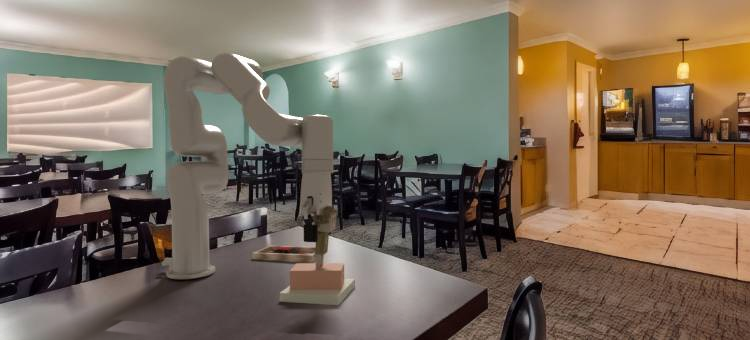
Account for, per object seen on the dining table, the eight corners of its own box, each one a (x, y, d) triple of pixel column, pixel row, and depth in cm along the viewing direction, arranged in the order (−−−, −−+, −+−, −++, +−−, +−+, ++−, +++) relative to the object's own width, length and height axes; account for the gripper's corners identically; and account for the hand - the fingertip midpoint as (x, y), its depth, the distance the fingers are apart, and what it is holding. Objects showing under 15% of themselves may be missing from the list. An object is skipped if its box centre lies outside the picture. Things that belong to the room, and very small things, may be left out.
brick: (290, 289, 96) (289, 270, 96) (296, 281, 103) (296, 263, 103) (341, 289, 96) (341, 270, 96) (344, 281, 103) (344, 263, 103)
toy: (328, 271, 96) (333, 207, 96) (301, 267, 97) (306, 204, 97) (336, 263, 104) (341, 204, 103) (311, 260, 105) (315, 201, 104)
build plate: (279, 301, 94) (279, 292, 94) (303, 283, 108) (303, 276, 108) (338, 305, 91) (338, 296, 91) (355, 286, 105) (354, 278, 105)
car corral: (252, 264, 129) (252, 253, 129) (270, 255, 141) (270, 245, 141) (312, 266, 125) (312, 255, 125) (325, 257, 137) (325, 247, 137)
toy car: (303, 267, 126) (303, 251, 126) (264, 263, 132) (264, 247, 131) (314, 262, 132) (314, 247, 132) (276, 258, 137) (276, 244, 137)
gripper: (315, 166, 108) (316, 231, 108) (287, 167, 91) (288, 244, 92) (343, 166, 106) (343, 232, 107) (320, 167, 90) (320, 245, 90)
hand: (318, 238), depth 99 cm, fingers open, 9 cm apart
